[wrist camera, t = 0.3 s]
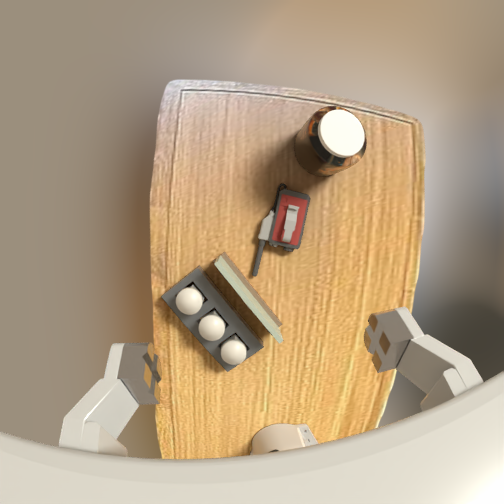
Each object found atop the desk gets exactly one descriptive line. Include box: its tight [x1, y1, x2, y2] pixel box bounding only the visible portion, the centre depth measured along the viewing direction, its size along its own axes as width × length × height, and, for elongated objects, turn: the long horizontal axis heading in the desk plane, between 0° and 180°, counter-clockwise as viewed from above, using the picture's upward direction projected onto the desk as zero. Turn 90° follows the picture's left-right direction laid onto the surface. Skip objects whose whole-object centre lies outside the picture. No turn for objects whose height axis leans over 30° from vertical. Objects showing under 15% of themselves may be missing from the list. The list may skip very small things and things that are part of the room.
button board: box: [161, 266, 264, 372], centre depth 63 cm, size 22×10×3 cm, turn 38°
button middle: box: [199, 310, 226, 341], centre depth 60 cm, size 5×5×4 cm
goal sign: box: [213, 252, 283, 343], centre depth 60 cm, size 20×3×8 cm, turn 37°
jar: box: [294, 106, 367, 176], centre depth 54 cm, size 12×12×15 cm
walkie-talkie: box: [252, 184, 310, 277], centre depth 61 cm, size 9×4×20 cm
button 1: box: [176, 284, 205, 315], centre depth 59 cm, size 5×5×4 cm
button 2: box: [221, 334, 246, 365], centre depth 61 cm, size 5×5×4 cm
